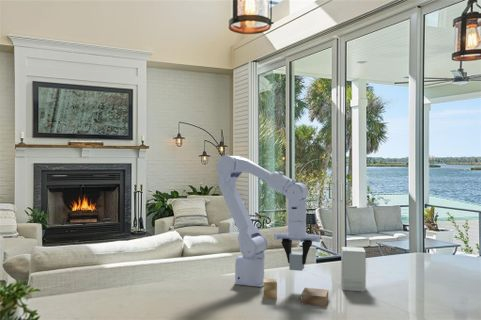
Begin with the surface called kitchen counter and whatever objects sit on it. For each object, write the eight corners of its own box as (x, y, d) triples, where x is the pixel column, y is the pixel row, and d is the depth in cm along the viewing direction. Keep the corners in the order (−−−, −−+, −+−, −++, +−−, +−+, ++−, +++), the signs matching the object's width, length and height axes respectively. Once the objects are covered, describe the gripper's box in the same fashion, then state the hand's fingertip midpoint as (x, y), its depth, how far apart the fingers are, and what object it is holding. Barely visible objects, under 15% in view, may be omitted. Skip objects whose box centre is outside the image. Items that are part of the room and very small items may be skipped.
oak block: (263, 298, 126) (263, 282, 126) (263, 294, 130) (263, 278, 130) (276, 299, 126) (277, 282, 126) (276, 294, 130) (276, 278, 130)
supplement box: (365, 291, 133) (366, 251, 133) (341, 290, 134) (341, 250, 134) (363, 285, 140) (364, 247, 140) (340, 283, 142) (341, 246, 142)
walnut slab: (301, 304, 122) (301, 294, 122) (304, 297, 128) (304, 287, 128) (325, 307, 120) (325, 296, 120) (328, 299, 126) (328, 289, 126)
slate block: (289, 269, 134) (289, 254, 134) (292, 266, 138) (291, 251, 138) (302, 270, 132) (301, 254, 133) (304, 267, 136) (304, 252, 136)
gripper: (271, 221, 134) (271, 264, 134) (317, 223, 129) (317, 267, 129) (277, 218, 140) (277, 259, 140) (321, 220, 136) (321, 262, 136)
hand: (296, 263), depth 135 cm, fingers closed on slate block, 4 cm apart
